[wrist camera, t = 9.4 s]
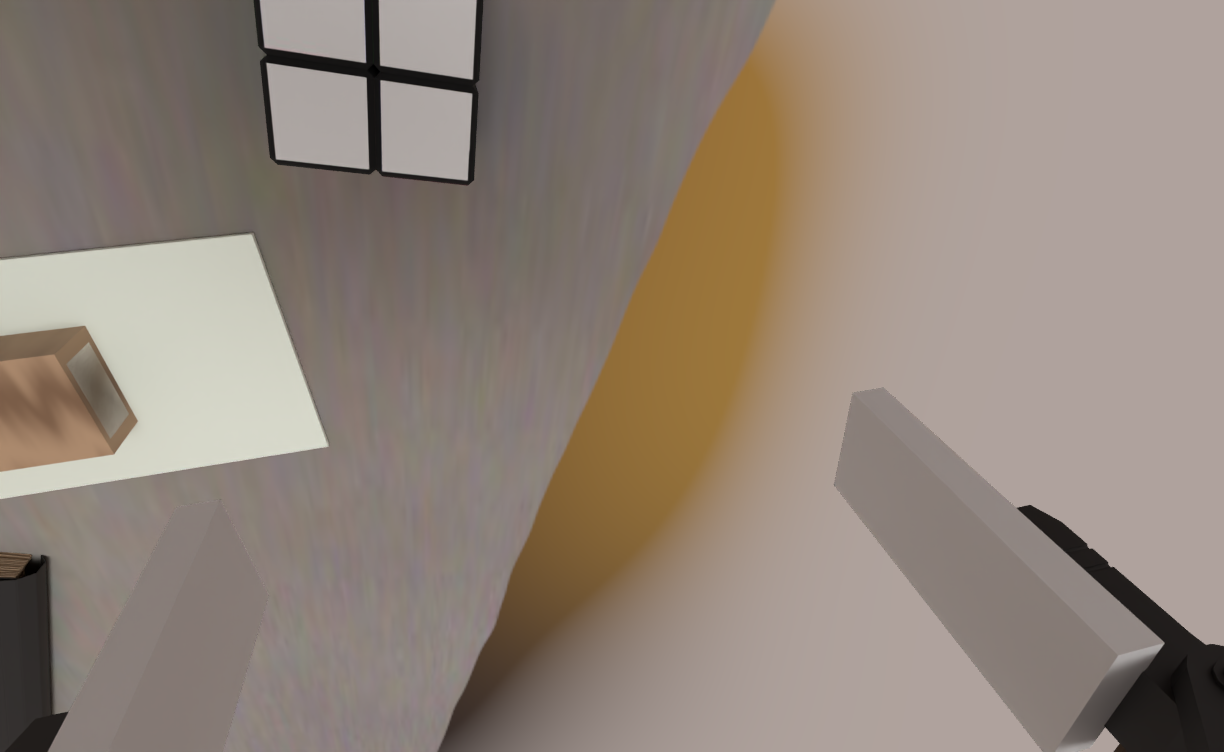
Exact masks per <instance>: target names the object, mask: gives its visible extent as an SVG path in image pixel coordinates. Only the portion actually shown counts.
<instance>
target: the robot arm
mask: <svg viewBox="0 0 1224 752" xmlns="http://www.w3.org/2000/svg"><path fill="white" fill-rule="evenodd" d="M834 486H835V487H836V488H837V490H838V491H839V492H840V493H841V495H842V496H843V497H844V499H845V500H846V501H847V502H848V503H849V505H850V506H851V508H852V509H853V510H854V511H855V513H856V514H857V515H858V516H859V518H860V519H861V520H862V522H863V523H864V524H865V525H866V527H867V528H868V529H869V530H870V532H871V533H872V534H873V535H874V537H875V538H876V539H877V541H878V542H879V543H880V544H881V546H882V547H883V548H884V550H885V551H886V552H887V553H888V555H889V556H890V557H891V559H892V560H893V561H894V562H895V564H896V565H897V566H898V567H899V569H900V570H901V571H902V573H903V574H904V575H905V576H906V578H907V579H908V580H909V581H910V583H911V584H912V585H913V587H914V588H915V589H916V590H917V592H918V593H919V594H920V595H921V597H922V598H923V599H924V601H925V602H926V603H927V605H928V606H929V607H930V608H931V610H932V611H933V612H934V613H935V615H936V616H937V617H938V618H939V620H940V621H941V622H942V624H943V625H944V626H945V627H946V629H947V630H948V631H949V633H950V634H951V635H952V636H953V638H954V639H955V640H956V642H957V643H958V644H959V645H960V647H961V648H962V649H963V650H964V652H965V653H966V654H967V655H968V657H969V658H970V659H971V661H972V662H973V663H974V664H975V666H976V667H977V668H978V670H979V671H980V672H981V673H982V675H983V676H984V677H985V678H986V680H987V681H988V682H989V684H990V685H991V686H992V687H993V688H994V690H995V691H996V693H997V694H998V695H999V696H1000V698H1001V699H1002V700H1003V702H1004V703H1005V704H1006V705H1007V706H1008V708H1009V709H1010V710H1011V712H1012V713H1013V714H1014V716H1015V717H1016V718H1017V719H1018V721H1019V722H1020V723H1021V724H1022V726H1023V727H1024V728H1025V729H1026V731H1027V732H1028V733H1029V735H1030V736H1031V737H1032V739H1033V740H1034V741H1035V742H1036V744H1037V745H1038V746H1039V747H1040V748H1041V750H1042V751H1043V752H1078V751H1081V750H1085V749H1088V748H1090V747H1091V746H1092V745H1093V743H1094V742H1095V740H1096V739H1097V738H1098V736H1099V735H1100V733H1101V732H1102V731H1103V729H1104V728H1105V727H1106V728H1107V729H1108V731H1109V732H1110V733H1111V734H1112V735H1113V736H1114V737H1115V738H1116V739H1117V740H1118V742H1119V743H1120V744H1119V745H1118V747H1117V748H1116V749H1115V751H1114V752H1224V646H1220V645H1215V644H1209V645H1205V644H1204V643H1202V642H1201V641H1200V640H1199V639H1197V638H1196V637H1195V636H1193V635H1192V634H1191V633H1189V632H1188V631H1187V630H1186V629H1185V628H1184V627H1182V626H1181V625H1180V624H1179V623H1178V622H1177V621H1176V620H1175V619H1173V618H1172V617H1171V616H1170V615H1169V614H1168V613H1166V612H1165V611H1164V610H1163V609H1162V608H1161V607H1159V606H1158V605H1157V604H1156V603H1155V602H1154V601H1152V600H1151V599H1150V598H1149V597H1148V596H1147V595H1146V594H1144V593H1143V592H1142V591H1141V590H1140V589H1139V588H1137V587H1136V586H1135V585H1134V584H1133V583H1132V582H1131V581H1129V580H1128V579H1127V578H1126V577H1125V576H1124V575H1122V574H1121V573H1120V572H1119V571H1118V570H1117V569H1115V568H1114V567H1110V566H1109V565H1108V562H1107V561H1106V560H1105V559H1104V558H1103V557H1101V556H1100V555H1099V554H1098V553H1097V552H1096V551H1095V550H1093V549H1089V548H1088V547H1087V544H1086V543H1085V542H1084V541H1083V540H1082V539H1081V538H1080V537H1078V536H1077V535H1076V534H1075V533H1073V532H1072V531H1071V530H1070V529H1069V528H1068V527H1067V526H1066V525H1064V524H1063V523H1062V522H1061V521H1059V520H1057V519H1055V518H1053V517H1051V516H1050V515H1048V514H1046V513H1044V512H1042V511H1040V510H1039V509H1037V508H1035V507H1033V506H1031V505H1028V506H1023V507H1019V508H1016V507H1015V506H1013V505H1012V504H1011V503H1010V502H1009V501H1008V500H1007V499H1006V498H1005V497H1003V496H1002V495H1001V494H1000V493H999V492H998V491H997V490H996V489H995V488H994V487H993V486H991V485H990V484H989V483H988V482H987V481H986V480H985V479H984V478H982V477H981V476H980V475H979V474H978V473H977V472H976V471H975V470H974V469H973V468H972V467H970V466H969V465H968V464H967V463H966V462H965V461H964V460H963V459H961V457H959V456H958V455H957V454H956V453H955V452H954V451H953V450H952V449H951V448H949V447H948V446H947V445H946V444H945V443H944V442H943V441H942V440H941V439H940V438H939V437H937V436H936V435H935V434H934V433H933V432H932V431H931V430H930V429H929V428H927V427H926V426H925V425H924V424H923V423H922V422H921V421H920V420H919V419H918V418H916V417H915V416H914V415H913V414H912V413H911V412H910V411H909V410H908V409H906V408H905V407H904V406H903V405H902V404H901V403H900V402H899V401H898V400H897V399H896V398H894V397H893V396H892V395H891V394H890V393H889V392H888V391H887V390H886V389H884V388H878V389H872V390H866V391H860V392H854V393H853V394H852V399H851V403H850V409H849V414H848V418H847V423H846V428H845V433H844V438H843V443H842V448H841V453H840V458H839V462H838V467H837V472H836V477H835V482H834ZM268 598H269V594H268V592H267V590H266V588H265V586H264V584H263V582H262V580H261V578H260V576H259V574H258V572H257V570H256V568H255V566H254V564H253V562H252V560H251V558H250V556H249V554H248V552H247V550H246V548H245V546H244V544H243V542H242V540H241V538H240V536H239V534H238V532H237V530H236V529H235V527H234V525H233V523H232V521H231V519H230V517H229V515H228V513H227V511H226V509H225V507H224V505H223V503H222V501H221V499H220V500H214V501H208V502H202V503H196V504H190V505H184V506H178V507H176V509H175V511H174V512H173V514H172V516H171V518H170V520H169V522H168V524H167V526H166V528H165V530H164V532H163V533H162V535H161V537H160V539H159V541H158V543H157V545H156V547H155V549H154V551H153V552H152V554H151V556H150V558H149V560H148V562H147V564H146V566H145V568H144V570H143V571H142V573H141V575H140V577H139V579H138V581H137V583H136V585H135V587H134V589H133V591H132V592H131V594H130V596H129V598H128V600H127V602H126V604H125V606H124V608H123V610H122V611H121V613H120V615H119V617H118V619H117V621H116V623H115V625H114V627H113V629H112V630H111V632H110V634H109V636H108V638H107V640H106V642H105V644H104V646H103V648H102V649H101V651H100V653H99V655H98V657H97V659H96V661H95V663H94V665H93V667H92V669H91V670H90V672H89V674H88V676H87V678H86V680H85V682H84V684H83V686H82V688H81V689H80V691H79V693H78V695H77V697H76V699H75V701H74V703H73V705H72V707H71V708H70V710H69V712H65V713H60V714H55V715H51V716H46V717H41V718H37V719H35V720H34V721H33V722H32V723H31V724H30V725H29V726H28V727H27V728H26V729H25V730H24V732H23V733H22V734H21V735H20V736H19V737H18V738H17V739H16V740H15V741H14V742H13V743H12V744H11V745H10V746H9V748H8V749H7V750H6V751H5V752H223V750H224V747H225V744H226V740H227V737H228V733H229V730H230V727H231V723H232V720H233V716H234V713H235V710H236V706H237V703H238V699H239V696H240V693H241V689H242V686H243V683H244V679H245V676H246V672H247V669H248V666H249V662H250V659H251V655H252V652H253V649H254V645H255V642H256V638H257V635H258V632H259V628H260V625H261V621H262V618H263V615H264V611H265V608H266V605H267V601H268Z"/></svg>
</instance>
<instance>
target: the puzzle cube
mask: <svg viewBox="0 0 1224 752" xmlns="http://www.w3.org/2000/svg"><path fill="white" fill-rule="evenodd" d="M254 8H255V18H256V28H257V37H258V46H259V47H260V48H261V49H262V50H263V51H264V52H265V53H266V54H267V55H266V56H265V57H264V58H263V59H262V60H261V61H260V65H261V75H262V85H263V94H264V104H265V114H266V123H267V133H268V143H269V152H270V158H271V159H272V160H273V161H274V162H276V163H277V164H278V165H287V166H296V167H305V168H315V169H324V170H333V171H343V172H352V173H361V174H371V173H372V172H373V171H374V170H377V171H378V172H379V173H380V174H381V175H382V176H385V177H394V178H403V179H413V180H422V181H431V182H441V183H450V184H459V185H469V184H470V183H471V182H472V181H473V180H474V167H475V148H476V129H477V110H478V91H477V88H476V85H475V83H477V82H478V81H479V72H480V53H481V34H482V15H483V0H254Z"/></svg>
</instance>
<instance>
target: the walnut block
mask: <svg viewBox="0 0 1224 752" xmlns="http://www.w3.org/2000/svg"><path fill="white" fill-rule="evenodd" d="M137 422H138V420H137V418H136V417H135V415H134V413H133V411H132V409H131V408H130V406H129V404H128V402H127V400H126V399H125V397H124V395H123V393H122V391H121V390H120V388H119V386H118V384H117V382H116V381H115V379H114V377H113V375H112V373H111V372H110V370H109V368H108V366H107V364H106V362H105V361H104V359H103V357H102V355H101V353H100V352H99V350H98V348H97V346H96V344H95V343H94V341H93V339H92V337H91V335H90V334H89V332H88V330H87V328H86V326H79V327H70V328H62V329H54V330H46V331H37V332H29V333H21V334H13V335H5V336H0V472H3V471H10V470H16V469H23V468H29V467H36V466H42V465H49V464H55V463H62V462H68V461H75V460H81V459H88V458H94V457H101V456H107V455H114V454H115V452H116V451H117V450H118V448H119V447H120V446H121V444H122V443H123V441H124V440H125V439H126V437H127V436H128V434H129V433H130V432H131V430H132V429H133V427H134V426H135V425H136V423H137Z"/></svg>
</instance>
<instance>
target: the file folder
mask: <svg viewBox="0 0 1224 752" xmlns="http://www.w3.org/2000/svg"><path fill="white" fill-rule="evenodd" d="M31 556H32V555H30V554H20V553H6V552H0V752H5V751H6V750H7V749H8V748H9V746H10V745H11V744H12V743H13V742H14V741H15V740H16V739H17V738H18V737H19V736H20V735H21V734H22V733H23V732H24V730H25V729H26V728H27V727H28V726H29V725H30V724H31V723H32V722H33V721H34V720H35V719H37V718H41V717H46V716H51V702H50V673H49V643H48V613H47V583H46V561H45V559H44V557H43V555H41V567H40V569H39V570H38V571H37V572H36V573H34V574H31V575H28V576H25V566H26V565H28V562H29V560H31Z"/></svg>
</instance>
